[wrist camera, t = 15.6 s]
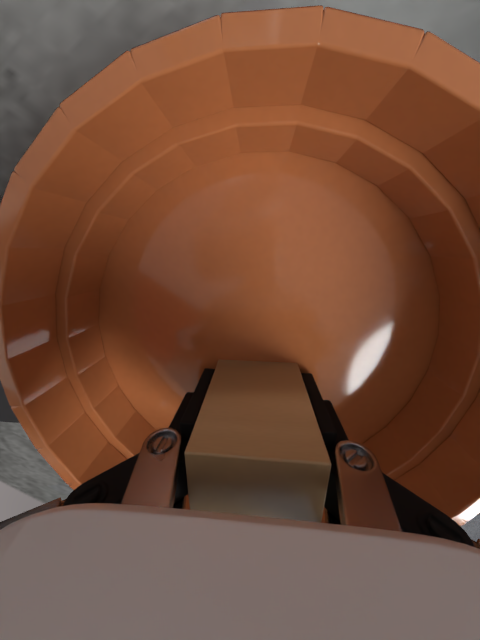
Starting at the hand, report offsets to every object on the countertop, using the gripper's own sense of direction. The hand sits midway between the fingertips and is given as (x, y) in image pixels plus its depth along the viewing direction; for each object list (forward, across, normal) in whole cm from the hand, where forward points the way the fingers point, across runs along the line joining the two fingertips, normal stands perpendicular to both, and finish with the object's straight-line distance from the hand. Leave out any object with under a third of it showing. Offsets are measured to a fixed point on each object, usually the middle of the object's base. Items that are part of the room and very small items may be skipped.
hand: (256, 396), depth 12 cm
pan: (+1, 0, -3) cm, 3 cm away
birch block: (0, 0, 0) cm, 0 cm away
